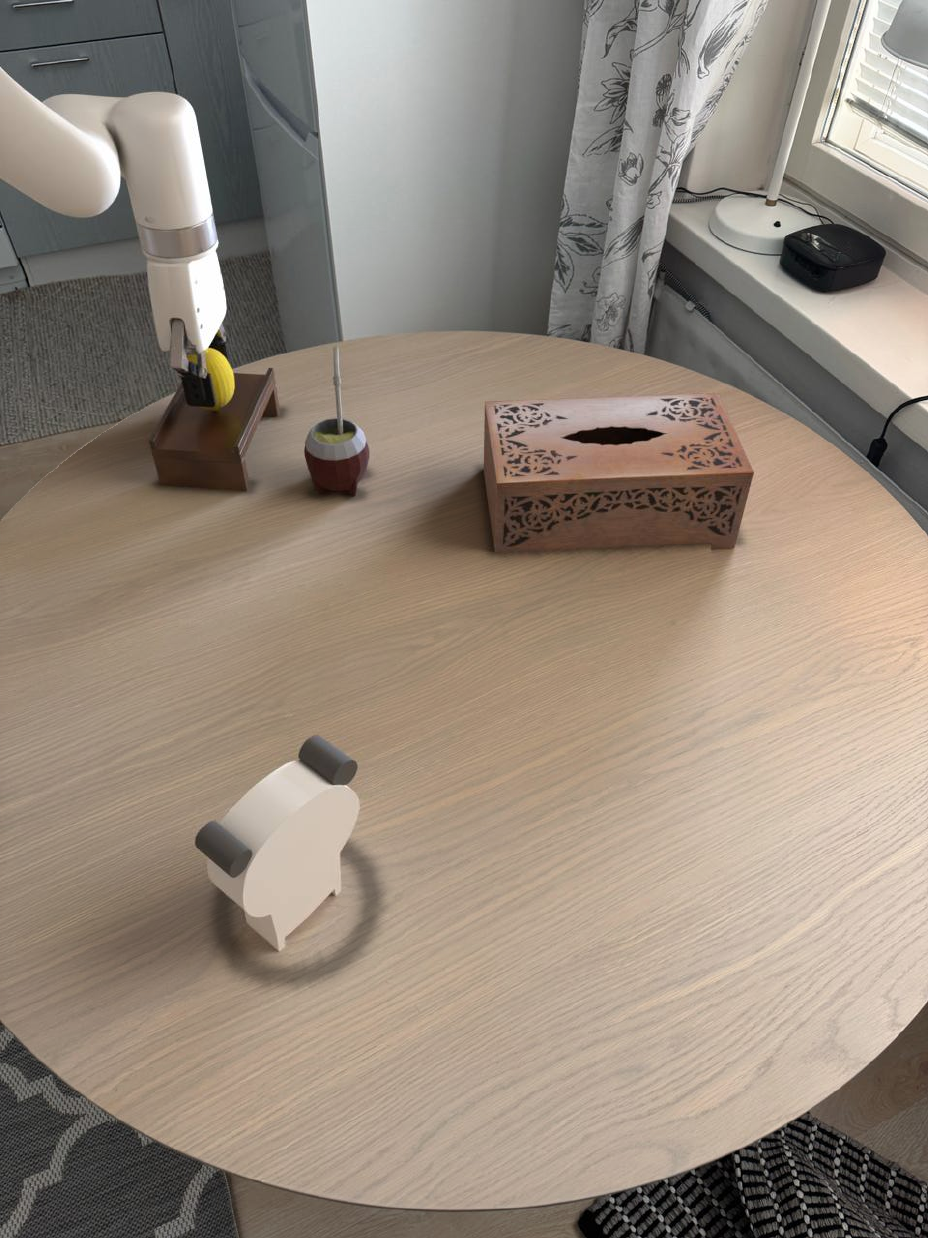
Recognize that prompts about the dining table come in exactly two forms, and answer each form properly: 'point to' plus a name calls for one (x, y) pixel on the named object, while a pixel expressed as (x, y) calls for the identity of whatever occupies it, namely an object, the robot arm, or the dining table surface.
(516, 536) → the tissue box cover
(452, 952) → the dining table surface
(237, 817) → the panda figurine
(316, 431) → the mate gourd
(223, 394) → the lemon
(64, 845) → the dining table surface
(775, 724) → the dining table surface
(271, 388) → the shelf
